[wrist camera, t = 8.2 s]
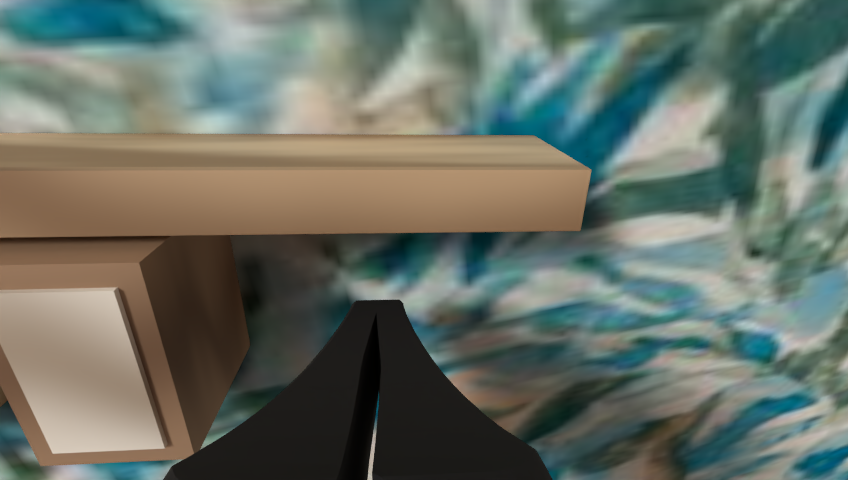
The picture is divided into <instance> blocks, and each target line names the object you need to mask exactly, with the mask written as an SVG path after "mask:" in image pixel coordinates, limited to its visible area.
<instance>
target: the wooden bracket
mask: <svg viewBox="0 0 848 480" xmlns="http://www.w3.org/2000/svg"><path fill="white" fill-rule="evenodd" d="M590 175H591V169H589V168H588V167H586V166H584V165H583V164H581V163H579V162H577V161H576V160H574V159H572V158H571V157H569V156H567V155H566V154H564V153H562V152H561V151H559V150H557V149H556V148H554V147H552V146H551V145H549V144H547V143H546V142H544V141H542V140H541V139H539V138H537V137H536V136H534V135H317V134H85V133H0V238H6V237H92V236H178V235H264V234H350V233H437V232H523V231H581V225H582V220H583V214H584V208H585V203H586V197H587V192H588V186H589V181H590ZM6 401H7V398H6V396H5V394H4V392H3V390H2V388H1V386H0V407H1V406H2V405H3V404H4V403H5V402H6Z"/></svg>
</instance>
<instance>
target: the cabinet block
mask: <svg viewBox="0 0 848 480" xmlns="http://www.w3.org/2000/svg"><path fill="white" fill-rule="evenodd" d="M249 347H250V340H249V335H248V330H247V324H246V319H245V314H244V308H243V303H242V297H241V292H240V287H239V281H238V276H237V271H236V265H235V260H234V255H233V249H232V244H231V239H230V235H178V236H92V237H6V238H0V386H1V388H2V390H3V392H4V394H5V396H6V398H7V400H8V402H9V404H10V406H11V408H12V410H13V412H14V414H15V416H16V418H17V420H18V422H19V424H20V426H21V428H22V430H23V432H24V434H25V436H26V438H27V440H28V442H29V444H30V446H31V448H32V450H33V452H34V454H35V456H36V458H37V460H38V462H39V463H40V465H41V466H51V465H72V464H93V463H113V462H134V461H155V460H176V459H186V458H187V457H189V456H191V455H192V454H194V453H196V452H198V451H199V450H200V448H201V446H202V444H203V442H204V440H205V438H206V436H207V434H208V432H209V430H210V428H211V425H212V423H213V421H214V419H215V417H216V415H217V413H218V411H219V409H220V407H221V405H222V403H223V401H224V399H225V397H226V394H227V392H228V390H229V388H230V386H231V384H232V382H233V380H234V378H235V376H236V374H237V372H238V370H239V368H240V366H241V363H242V361H243V359H244V357H245V355H246V353H247V351H248V349H249Z"/></svg>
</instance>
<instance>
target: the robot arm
mask: <svg viewBox="0 0 848 480" xmlns="http://www.w3.org/2000/svg"><path fill="white" fill-rule="evenodd" d="M378 393H379V409H378V421H377V432H376V443H375V453H374V462H373V471H372V478H373V480H552V478H551V476H550V474H549V472H548V470H547V468H546V467H545V465H544V463H543V461H542V460H541V458H540V456H539V454H538V453H537V451H536V450H535V449H534V448H532V447H531V446H529V445H528V444H526V443H524V442H523V441H521V440H520V439H518V438H517V437H515V436H514V435H512V434H511V433H509V432H507V431H506V430H504V429H503V428H502V427H500V426H499V425H497V424H496V423H495V422H494V421H492V420H491V419H490V418H488V417H487V416H486V415H485V414H484V413H482V412H481V411H480V410H479V409H478V408H477V407H476V406H475V405H474V404H472V403H471V402H470V401H469V400H468V399H467V398H466V397H465V396H464V395H463V394H462V393H461V392H460V391H459V390H458V389H457V388H456V387H455V386H454V385H453V384H452V383H451V382H450V381H449V379H448V378H447V377H446V376H445V375H444V374H443V372H442V371H441V370H440V369H439V367H438V366H437V365H436V363H435V362H434V361H433V359H432V358H431V357H430V355H429V354H428V352H427V351H426V349H425V348H424V346H423V345H422V343H421V341H420V340H419V338H418V336H417V335H416V333H415V331H414V329H413V327H412V325H411V323H410V321H409V319H408V317H407V315H406V312H405V309H404V306H403V303H402V302H401V301H400V300H361V301H355V302H354V303H353V304H352V306H351V308H350V310H349V312H348V313H347V315H346V317H345V318H344V320H343V321H342V323H341V324H340V326H339V327H338V329H337V330H336V332H335V333H334V334H333V336H332V337H331V338H330V340H329V341H328V342H327V344H326V345H325V346H324V348H323V349H322V350H321V351H320V352H319V354H318V355H317V356H316V357H315V358H314V359H313V361H312V362H311V363H310V364H309V365H308V366H307V367H306V369H305V370H304V371H303V372H302V373H301V374H300V375H299V376H298V377H297V378H296V379H295V380H294V381H293V382H292V383H291V384H290V385H289V386H288V387H287V388H286V389H284V390H283V391H282V392H281V393H280V394H279V395H278V396H276V397H275V398H274V399H273V400H272V401H271V402H269V403H268V404H267V405H266V406H265V407H263V408H262V409H261V410H260V411H258V412H257V413H256V414H254V415H253V416H252V417H250V418H249V419H247V420H246V421H245V422H243V423H242V424H240V425H239V426H237V427H236V428H235V429H233V430H232V431H230V432H229V433H227V434H226V435H224V436H222V437H221V438H219V439H218V440H216V441H215V442H213V443H211V444H209V445H208V446H206V447H204V448H203V449H201V450H199V451H198V452H196V453H194V454H192V455H191V456H189V457H187V458H186V459H184V460H182V461H180V462H179V463H177V464H175V465H173V466H172V467H171V468H170V470H169V472H168V473H167V475H166V476H165V478H164V479H163V480H367V478H368V467H369V458H370V451H371V444H372V437H373V429H374V422H375V415H376V407H377V400H378Z"/></svg>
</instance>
